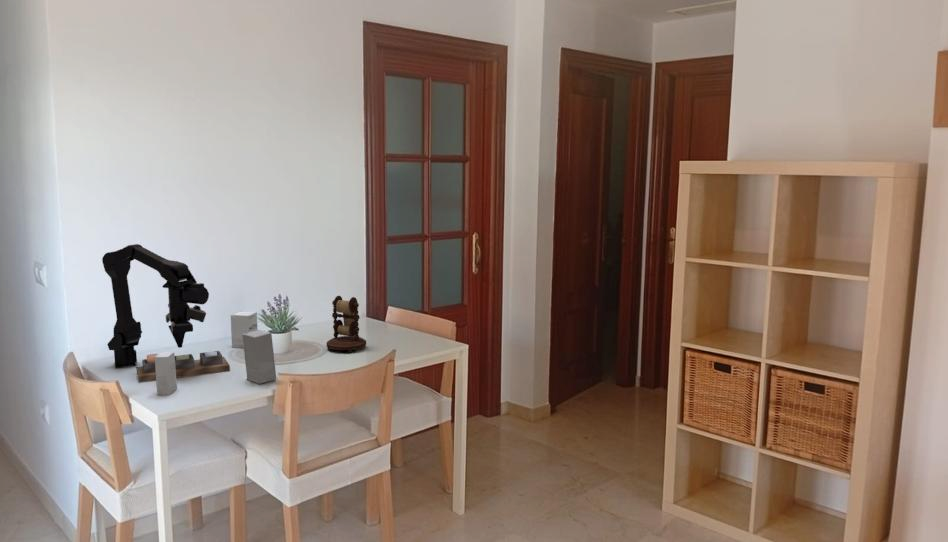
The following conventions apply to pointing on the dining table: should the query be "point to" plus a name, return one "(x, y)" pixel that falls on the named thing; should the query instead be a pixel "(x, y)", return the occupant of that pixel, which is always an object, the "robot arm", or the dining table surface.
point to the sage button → (182, 357)
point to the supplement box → (242, 326)
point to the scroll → (346, 326)
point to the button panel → (187, 367)
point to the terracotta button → (151, 358)
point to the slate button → (210, 354)
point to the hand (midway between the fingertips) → (180, 347)
